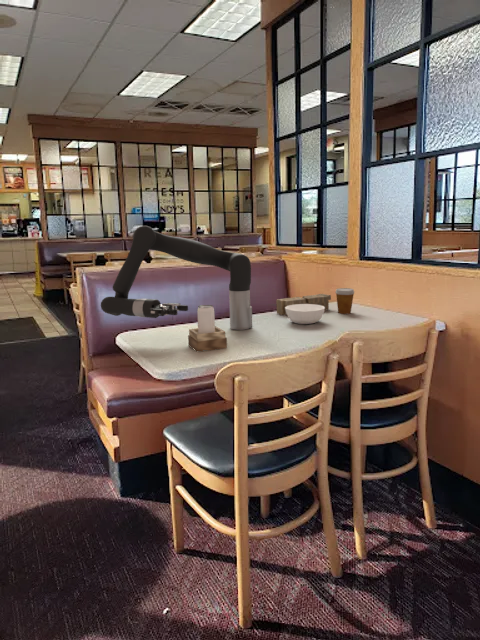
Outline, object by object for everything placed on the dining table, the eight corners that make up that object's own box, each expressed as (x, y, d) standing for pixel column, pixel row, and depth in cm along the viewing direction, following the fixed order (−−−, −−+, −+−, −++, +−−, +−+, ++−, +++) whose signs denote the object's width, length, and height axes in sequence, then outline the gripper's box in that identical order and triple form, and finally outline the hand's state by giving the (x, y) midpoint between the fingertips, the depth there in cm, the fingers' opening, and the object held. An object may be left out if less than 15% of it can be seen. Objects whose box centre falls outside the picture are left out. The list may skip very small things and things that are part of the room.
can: (194, 337, 188) (193, 306, 185) (206, 333, 192) (205, 304, 190) (207, 339, 184) (205, 308, 181) (218, 336, 188) (217, 305, 186)
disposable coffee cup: (356, 311, 249) (357, 288, 247) (350, 315, 241) (350, 291, 239) (338, 310, 254) (339, 287, 252) (332, 313, 246) (332, 290, 244)
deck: (217, 341, 196) (216, 331, 195) (227, 347, 186) (226, 337, 185) (188, 345, 192) (188, 335, 191) (197, 351, 182) (196, 341, 181)
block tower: (284, 318, 244) (331, 309, 257) (284, 301, 242) (331, 294, 255) (276, 315, 251) (322, 307, 264) (275, 299, 249) (322, 292, 262)
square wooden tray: (215, 332, 195) (215, 326, 195) (225, 338, 185) (225, 331, 185) (189, 335, 191) (189, 329, 191) (197, 341, 181) (197, 334, 181)
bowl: (323, 318, 236) (323, 303, 234) (326, 326, 218) (326, 310, 216) (285, 318, 238) (285, 304, 236) (285, 326, 220) (284, 311, 218)
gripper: (136, 301, 189) (172, 303, 183) (155, 296, 202) (190, 297, 196) (137, 320, 190) (173, 323, 184) (156, 314, 203) (191, 316, 197)
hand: (182, 310), depth 190 cm, fingers open, 8 cm apart
